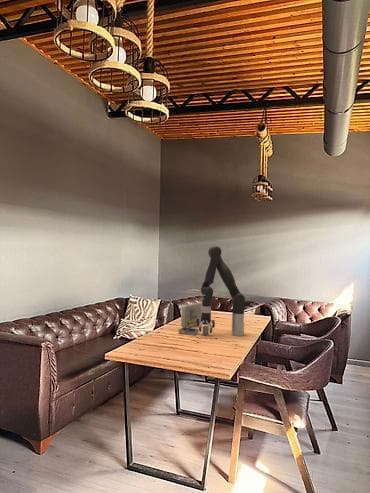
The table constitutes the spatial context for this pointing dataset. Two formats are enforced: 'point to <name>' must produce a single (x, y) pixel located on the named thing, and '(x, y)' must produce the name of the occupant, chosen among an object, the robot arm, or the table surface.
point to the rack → (188, 331)
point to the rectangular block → (205, 330)
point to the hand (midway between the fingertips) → (205, 332)
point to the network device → (190, 315)
